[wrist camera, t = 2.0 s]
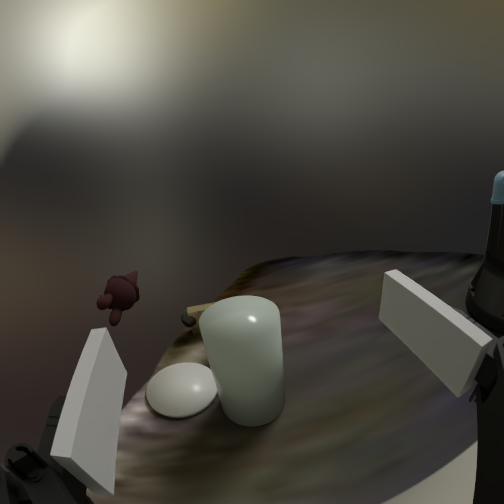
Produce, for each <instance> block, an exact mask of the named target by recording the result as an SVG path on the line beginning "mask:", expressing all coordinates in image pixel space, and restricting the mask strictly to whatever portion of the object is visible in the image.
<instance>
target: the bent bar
mask: <svg viewBox="0 0 504 504" xmlns="http://www.w3.org/2000/svg"><path fill="white" fill-rule="evenodd" d="M214 303H216V302H214ZM214 303H209V304H205V305H199V306H193V307H188V308H187V311H185V312H183V313H182V316H181V322H182V324H183V325H185V326H186V327H191V328H192V332H193V335H194V334H200V333H201V331H200V327H199V319H200V316H201V315H202V313H203V312H204V311H205V310H206V309H207V308H208V307H209V306H211V305H213V304H214Z"/></svg>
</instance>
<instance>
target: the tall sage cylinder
mask: <svg viewBox="0 0 504 504" xmlns="http://www.w3.org/2000/svg"><path fill="white" fill-rule="evenodd" d="M199 327H200V331H201V335H202V338H203V342H204V346H205V350H206V353H207V357H208V360H209V364H210V367H211V371H212V374H213V378H214V381H215V385H216V388H217V391H218V395H219V398H220V401H221V404H222V407H223V411H224V413H225V415H226V416H227V417H228V418H229V419H230V420H231V421H233V422H235V423H237V424H239V425H243V426H260V425H264V424H267V423H269V422H271V421H273V420H274V419H276V418H277V417H278V416H279V415H280V414H281V412H282V411H283V409H284V406H285V388H284V371H283V355H282V340H281V326H280V313H279V310H278V308H277V306H276V305H275V304H274V303H273V302H271V301H269V300H267V299H265V298H261V297H257V296H236V297H231V298H227V299H223V300H221V301H218V302H216V303H214V304H213V305H211V306H209V307H208V308H207V309H206V310H205V311H204V312H203V313H202V315H201V316H200V319H199Z"/></svg>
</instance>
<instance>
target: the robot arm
mask: <svg viewBox="0 0 504 504" xmlns="http://www.w3.org/2000/svg"><path fill="white" fill-rule="evenodd" d="M491 203H492V211H491V219H490V227H489V233H488V240H487V245H486V252H485V257H484V260H483V262H482V264H481V266H480V268H479V269H478V271H477V273H476V275H475V277H474V278H473V280H472V282H471V284H470V286H469V288H468V292H467V296H466V305H467V308H468V310H469V311H470V313H471V314H472V315H473V316H474V317H475V318H476V319H477V320H478V321H479V322H481V323H482V324H484V325H485V326H487V327H489V328H491V329H493V330H496V331H499V332H502V333H504V171H501V172H499V173H498V174H497V175H496V177H495V179H494V188H493V196H492V198H491ZM379 319H380V320H381V321H382V322H383V323H384V324H385V325H386V326H387V327H388V328H389V329H390V330H391V331H392V332H393V333H394V334H395V335H396V336H397V337H398V338H399V339H400V340H401V341H402V342H403V343H404V344H405V345H406V346H407V347H408V348H409V349H410V350H412V351H413V352H414V353H415V354H416V355H417V356H418V357H419V358H420V360H421V361H422V362H423V363H424V364H425V365H426V366H427V367H428V368H429V369H430V370H431V371H432V372H433V373H434V374H435V375H436V376H437V377H438V378H439V379H440V380H441V381H442V382H443V383H444V384H445V385H446V386H447V387H448V388H449V389H450V390H451V391H452V392H453V393H454V394H455V396H456V397H457V398H458V397H460V396H461V395H462V394H464V393H465V392H467V391H468V390H469V389H470V387H471V385H472V383H473V381H474V380H475V381H477V382H478V384H477V385H476V387H475V389H474V391H473V393H472V395H471V396H470V399H469V402H471V401H472V399H473V398H474V396H475V395H476V399H475V400H474V402H477V423H478V451H477V470H476V482H475V491H474V498H473V504H504V336H502V337H500V338H497V337H496V336H495V335H493V334H492V333H491V332H489V331H488V330H487V329H485V328H484V327H483V326H481V325H480V324H479V323H477V322H475V320H473V319H472V318H469V316H468V315H467V314H465V313H464V312H463V311H461V310H458V309H456V308H453V307H450V306H448V305H447V304H446V303H444V302H443V301H441V300H440V299H439V298H437V297H436V296H434V295H433V294H431V293H430V292H429V291H427V290H426V289H424V288H423V287H421V286H420V285H419V284H417V283H416V282H414V281H413V280H411V279H410V278H408V277H407V276H405V275H404V274H402V273H401V272H399V271H398V270H392V271H388V272H385V273H384V282H383V291H382V299H381V307H380V314H379ZM126 376H127V372H126V370H125V368H124V366H123V364H122V362H121V360H120V358H119V356H118V353H117V351H116V349H115V346H114V344H113V342H112V339H111V337H110V335H109V332H108V330H107V328H99V329H92V330H91V332H90V335H89V337H88V339H87V342H86V344H85V347H84V349H83V352H82V354H81V357H80V360H79V362H78V365H77V368H76V371H75V373H74V376H73V379H72V382H71V385H70V388H69V391H68V394H67V396H59V397H58V398H57V399H56V401H55V402H54V403H53V405H52V406H51V409H50V412H49V415H48V417H49V418H47V421H46V427H45V428H44V431H43V435H42V438H41V442H40V445H39V449H38V452H36V451H35V450H33V448H32V447H30V446H29V445H27V444H25V443H18V444H15V445H13V446H12V447H11V448H10V449H9V450H8V452H7V454H6V456H5V466H6V467H7V468H8V469H9V470H10V472H6V471H5V470H4V469H3V468H1V466H0V504H94V503H93V502H92V500H91V499H90V498H89V497H88V496H87V495H86V489H87V488H88V489H90V490H91V491H92V492H93V493H95V494H104V495H114V480H115V465H116V453H117V442H118V433H119V424H120V416H121V409H122V401H123V395H124V388H125V381H126Z"/></svg>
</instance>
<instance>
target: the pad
mask: <svg viewBox="0 0 504 504" xmlns="http://www.w3.org/2000/svg"><path fill="white" fill-rule="evenodd" d="M217 393H218V391H217V388H216V385H215V381H214V378H213V374H212V371H211V370H210V369H209V368H207V367H206V366H203V365H201V364H197V363H179V364H174V365H171V366H168V367H166V368H164V369H162V370H161V371H159V372H158V373H157V374H156V375H154V376H153V378H152V379H151V380H150V382H149V384H148V386H147V390H146V396H147V400H148V402H149V404H150V405H151V407H152V408H153V409H154V410H155V411H156V412H158V413H159V414H161V415H163V416H167V417H171V418H185V417H190V416H193V415H196V414H198V413H200V412H202V411H203V410H205V409H206V408H207V407H209V406H210V405H211V403H212V402H213V401H214V399H215V398H216V396H217Z"/></svg>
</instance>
